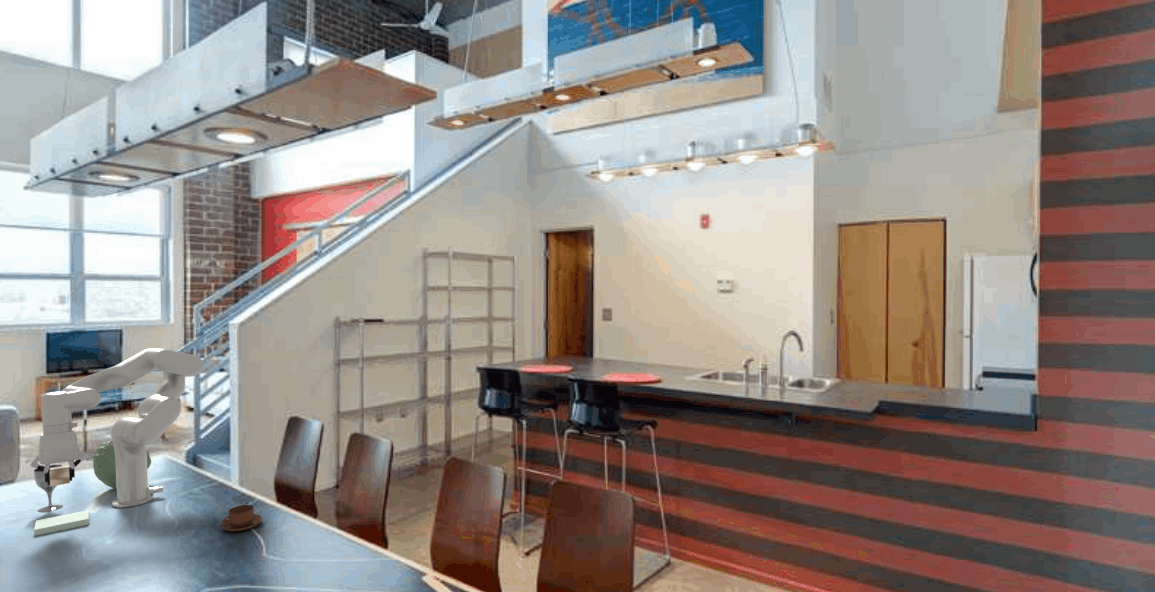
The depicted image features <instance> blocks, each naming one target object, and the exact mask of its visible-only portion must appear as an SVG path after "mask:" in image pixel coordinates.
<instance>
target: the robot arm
mask: <svg viewBox="0 0 1155 592" xmlns="http://www.w3.org/2000/svg"><path fill="white" fill-rule="evenodd" d="M203 369H204V362H203V360H202V359H201V357H199V356H198V355H195V354H191V353H190V354H189V353H186V352H181V351H176V350H172V349H168V348H156V347H153V348H146V349H143V350H141V351H139V352H138V353H136V354H134V355H132V356H130V357H129V358H126V359H125V360H123V361H121V362H119V363H117V364H115V365H114V366H111V367H107V368H106V369H102V370H101V371H98V372H95V373H91V374H90V375H87V376H85V377H82V378H81V379H78V380H77V381H75V382H73V383H71V384H69V385H68V386H66V387H65V388H64V389H62V390H61V391H51V392H46V393H44V394H43V395H42V396H41V402H40V403H41V415H42V416H41V417H42V418H41V419H42V433H41V434H40V435H39V439H38V440H39V441H38V455H36V457H35V458H34V459H33V460H32V462H30V464H29V465H30V467H31V468H34V469H36V468H37V469H38V470H40V471H42V472H43V473H45V482H48V485H50V470H49V467H50V465H54V464H59V463H65V462H68V465H69V477H70V482H72V481H73V478H75V477H76V476H75V475H76V474H75V473H76V472H75V468H76V467H77V466H79V464H81V462H83V461H84V460H85V459H86V458H87V457H88V456H87V454H86V453H85V452H83V451H82V450H81V449H80V448H79V444H78V437H77V433H76V430H75V429H74V428H77V427H78V422H73V421H72V412H74V411H87V410H91V409H93V408H96V407H97V406H98V405H99V404H100V403H101V400H102V395H101V393H103V392H105V391H110V390H113V389H115V390H116V389H121V388H124V387H127V386H128V387H129V386H130V385H132V384H133V383H134V382H137V381H139V379H142V378H144V377H145V376H146V375H148V374H151V373H152V372H156V371H157V372H163V376H162V377H163V378H162V381H161V382H160V383H159V384H158V386H156V388H155V389H154V390H153V391H152V392H151V393H149V394H148V395H147V396H146V397H145V398H144V399H143V400H142V401H141V402H140V403H139V405H138V407H137V410H136V411H137V415H138V416H139V417H132V416H126V417H122V418H119V419H118V420H117V421H115V423H114V424H113V425H112V426H111V430H110V437H111V441H112V442H113V446H114V451H115V466H116V487H117V488H116V498H115V499H113V501H112V502H111V506H112V507H114V508H119V509H120V508H121V509H122V508H131V507H136V506H139V505H143V504H147V503H148V502H151V501H153V499H154V494H157V493H164V487H163V486H160V487H159V486H154V487H151V486H150V484H149V481H148V478H149V477H148V470H147V453H146V451H147V448H146V446H149V445H151V444H153V443H155V442H156V441H157V440H158V439H159V438H160V437H161V436H162V435H163V434H164V433H166V431H167V430H168V429H169V428H170V427H171V426H172V425H173V424H174V423H175V421H177V419H179V416H180V414H181V412H182V405H181V402H180V401H179V400H178V399H179V398H180V397H181V396H182V394H183V393H184V391H185V387H186V377H188V378H189V377H191V378H192V377H196V376H198V375H199V374H200V373H201V372H202V371H203ZM38 462H39V463H38ZM44 466H45V467H44Z"/></svg>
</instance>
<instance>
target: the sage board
mask: <svg viewBox="0 0 1155 592" xmlns="http://www.w3.org/2000/svg"><path fill="white" fill-rule="evenodd" d="M87 525H90V511H89V509H87V510H81V511H76V512H72V513H67V514H61V515H56V516H52V517H51V516H50V517H47V518H40V519H37V520H35V524H34V529H33V533H34V537H35V536H41V535H45V534H46V535H47V534H49V533H54V532H59V531H60V532H61V531H64V530H69V529H74V528H78V527H83V526H87Z"/></svg>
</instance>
